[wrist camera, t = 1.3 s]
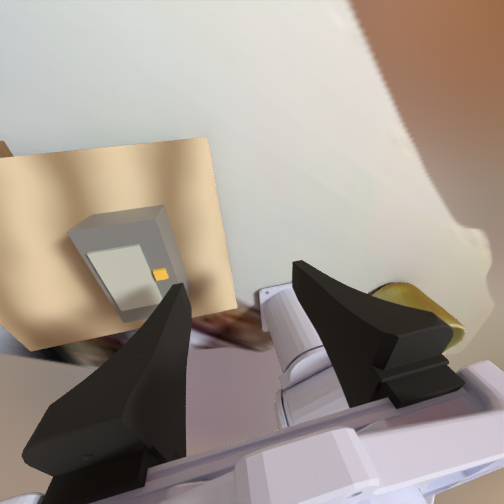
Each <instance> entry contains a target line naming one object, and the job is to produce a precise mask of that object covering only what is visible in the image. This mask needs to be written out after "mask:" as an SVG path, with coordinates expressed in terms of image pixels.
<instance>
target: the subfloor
mask: <svg viewBox="0 0 504 504" xmlns="http://www.w3.org/2000/svg"><path fill="white" fill-rule="evenodd" d="M158 205H165V209H166V212H167V215H168V218H169V221H170V224H171V227H172V230H173V233H174V237H175V240H176V243H177V246H178V249H179V252H180V255H181V258H182V261H183V265H184V268H185V271H186V274H187V277H188V280H189V283H190V286H191V288H190V298H189V301H190V304H191V307H192V317H197V316H201V315H206V314H211V313H215V312H220V311H225V310H230V309H234V308H237V303H236V297H235V291H234V286H233V280H232V274H231V268H230V263H229V257H228V251H227V246H226V240H225V234H224V228H223V223H222V217H221V211H220V206H219V200H218V194H217V188H216V183H215V177H214V171H213V166H212V160H211V154H210V148H209V143H208V137H203V138H193V139H183V140H174V141H164V142H154V143H144V144H134V145H124V146H114V147H104V148H94V149H84V150H75V151H65V152H55V153H45V154H35V155H25V156H15V157H13V155H12V153H11V152H10V150H9V149H8V147H7V146H6V144H5V142H4V141H0V324H1V325H2V326H3V327H4V328H5V329H6V330H7V331H8V332H10V333H11V334H12V335H13V336H14V337H15V338H16V339H17V340H18V341H20V342H21V343H22V344H23V345H24V346H25V347H26V348H27V349H28V350H30V351H35V350H40V349H45V348H49V347H54V346H59V345H64V344H68V343H73V342H78V341H83V340H87V339H92V338H97V337H102V336H106V335H111V334H116V333H121V332H125V331H130V330H135V329H140V328H141V326H142V325H143V324H144V323H145V322H146V320H147V319H143V320H138V321H133V322H128V323H123V321H122V320H121V318H120V317H119V315H118V313H117V312H116V310H115V309H114V307H113V305H112V304H111V302H110V301H109V299H108V297H107V296H106V294H105V293H104V291H103V289H102V288H101V286H100V285H99V283H98V281H97V280H96V278H95V277H94V275H93V273H92V272H91V270H90V269H89V267H88V265H87V264H86V262H85V261H84V259H83V257H82V256H81V254H80V253H79V251H78V249H77V248H76V246H75V245H74V243H73V241H72V240H71V238H70V237H69V235H68V233H67V231H68V230H70V229H71V228H73V227H74V226H76V225H77V224H79V223H80V222H82V221H83V220H85V219H86V218H88V217H89V216H90V215H93V214H100V213H107V212H114V211H122V210H129V209H136V208H143V207H150V206H158Z"/></svg>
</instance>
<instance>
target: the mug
mask: <svg viewBox="0 0 504 504" xmlns="http://www.w3.org/2000/svg"><path fill="white" fill-rule="evenodd" d="M371 296H374V297H377V298H380V299H383V300H386V301H389V302H393V303H396V304H400V305H404V306H407V307H412V308H417V309H421V310H426V311H430V312H433V313H434V314H435V315H437V316H438V317H439V318H441V319H442V320H443V321H444V322H446V323H447V324H448V325H450V326H451V327H452V329H453V337H452V339H451V341H450V343H449V344H448V345H447V347H446V348H445V350H444V351H443V353H442V355H443V354H445V353H446V352H447V351H448V350H449V349H450V348H452V347H454V346H456V345H458V343H460V342H461V341H462V340H463V338H464V337H465V334H466V331H465V330H466V329H465V327H464V326H463V325H462V324H461V323H460V322H459V321H458V320H457V319H455V318H454V317H453V316H452V315H450V314H449V313H448V312H447V311H446V310H444V309H443V308H442V307H441V306H439V305H438V304H437V303H435V302H434V301H433V300H431V299H430V298H429V297H427V296H426V295H425V294H424V293H423V292H422V291H421V290H419V289H418V288H417V287H415V286H414V285H412V284H409V283H389V284H387V285H385V286H384V287H382V288H380V289H379V290H378V291H376V292H375V293H373V294H372V295H371Z"/></svg>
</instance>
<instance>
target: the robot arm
mask: <svg viewBox="0 0 504 504" xmlns="http://www.w3.org/2000/svg"><path fill="white" fill-rule="evenodd" d="M267 291H268V292H267ZM259 302H260V312H261V323H262V330H263V332H268V331H270V335H271V338H272V341H273V344H274V347H275V350H276V353H277V356H278V359H279V362H280V365H281V368H282V372H283V374H282V375H281V376H279V380H280V384H281V387H282V388H281V389H279V390H278V391H277V393H276V400H275V417H276V422H277V427H278V430H275V431H272V432H269V433H266V434H262V435H259V436H255V437H252V438H248V439H245V440H242V441H238V442H235V443H232V444H228V445H225V446H221V447H218V448H215V449H211V450H208V451H204V452H201V453H198V454H194V455H191V456H188V457H186V407H185V405H186V366H187V356H188V348H189V341H190V333H191V325H192V307H191V304H190V301H189V298H188V295H187V292H186V289H185V286H184V283H178V284H173V285H172V286H171V288H170V289H169V290H168V292H167V293H166V295H165V296H164V298H163V299H162V300H161V302H160V303H159V305H158V306H157V307H156V309H155V310H154V311H153V313H152V314H151V315H150V317H149V318H148V319H147V320H146V322H145V323H144V324H143V325H142V326H141V328H140V329H139V330H138V331H137V332H136V333H135V334H134V335H133V336H132V337H131V338H130V339H129V340H128V341H127V343H126V344H124V345H123V346H122V347H121V348H120V349H119V350H118V351H117V352H116V353H115V354H114V355H113V356H112V357H111V358H110V359H108V360H107V361H106V362H105V363H104V364H103V365H102V366H100V367H99V368H98V369H97V370H96V371H94V372H93V373H92V374H91V375H90V376H88V377H87V378H86V379H85V380H84V381H82V382H81V383H79V384H78V385H77V386H75V387H74V388H73V389H71V390H70V391H69V392H67V393H66V394H65V395H63V396H62V397H61V398H59V399H58V400H57V401H55V402H54V403H52V404H51V405H50V406H49V408H48V409H47V411H46V412H45V414H44V416H43V418H42V419H41V421H40V423H39V424H38V426H37V428H36V430H35V431H34V433H33V435H32V436H31V438H30V440H29V441H28V443H27V445H26V447H25V448H24V450H23V453H22V457H23V459H24V462H25V463H26V464H28V465H29V466H31V467H33V468H35V469H37V470H40V471H42V472H44V473H46V474H49V475H51V476H53V479H52V481H51V483H50V485H49V487H48V490H47V492H46V494H42V493H38V492H32V493H25V494H21V495H18V496H14V497H11V498H8V499H4V500H1V501H0V504H433V503H434V497H435V494H437V493H440V492H442V491H445V490H448V489H450V488H452V487H455V486H457V485H460V484H462V483H465V482H467V481H470V480H472V479H475V478H477V477H479V476H482V475H485V474H487V473H490V472H492V471H495V470H498V469H500V468H503V467H504V372H503V371H501V370H500V369H499V368H497V367H496V366H495V365H494V364H492V363H491V362H490V361H488V360H484V361H481V362H477V363H474V364H470V365H467V366H465V367H463V368H461V369H460V370H458V371H457V372H456V373H455V372H454V371H453V370H451V369H450V368H449V367H448V366H447V364H449V361H448V359H446V358H445V357H444V356H443V355H442V353H443V351H444V350H445V348H446V347H447V345H448V344H449V343H450V341H451V339H452V337H453V329H452V327H451V326H450V325H448V324H447V323H446V322H444V321H443V320H442V319H441V318H439V317H438V316H437V315H435V314H434V313H433V312H430V311H426V310H421V309H417V308H412V307H407V306H404V305H400V304H396V303H393V302H389V301H386V300H383V299H380V298H377V297H374V296H371V295H368V294H366V293H363V292H361V291H358V290H356V289H354V288H351V287H349V286H347V285H345V284H343V283H341V282H339V281H337V280H335V279H333V278H331V277H329V276H328V275H326V274H324V273H322V272H321V271H319V270H317V269H316V268H314V267H313V266H311V265H309V264H308V263H306V262H304V261H302V260H300V261H295V262H293V270H292V283H289V284H284V285H279V286H274V287H269V288H265V289H261V290H260V291H259Z"/></svg>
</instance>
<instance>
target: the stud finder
mask: <svg viewBox="0 0 504 504" xmlns="http://www.w3.org/2000/svg"><path fill="white" fill-rule="evenodd" d="M67 233H68V235H69V237H70V238H71V240H72V241H73V243H74V245H75V246H76V248H77V249H78V251H79V253H80V254H81V256H82V257H83V259H84V261H85V262H86V264H87V265H88V267H89V269H90V270H91V272H92V273H93V275H94V277H95V278H96V280H97V281H98V283H99V285H100V286H101V288H102V289H103V291H104V293H105V294H106V296H107V297H108V299H109V301H110V302H111V304H112V305H113V307H114V309H115V310H116V312H117V313H118V315H119V317H120V318H121V320H122V321H123V323H128V322H133V321H138V320H143V319H148V318H149V317H150V315H151V314H152V313H153V311H154V310H155V309H156V307H157V306H158V305H159V303H160V302H161V300H162V299H163V298H164V296H165V295H166V293H167V292H168V290H169V289H170V288H171V286H172V285H173V284H178V283H184V286H185V289H186V292H187V295H188V298H190V288H191V286H190V283H189V280H188V277H187V274H186V271H185V268H184V265H183V261H182V258H181V255H180V252H179V249H178V246H177V243H176V240H175V237H174V233H173V230H172V227H171V224H170V221H169V218H168V215H167V212H166V209H165V205H158V206H150V207H143V208H136V209H129V210H122V211H114V212H107V213H100V214H93V215H90V216H89V217H88V218H86V219H85V220H83V221H82V222H80V223H79V224H77V225H76V226H74V227H73V228H71V229H70V230H68V231H67Z"/></svg>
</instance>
